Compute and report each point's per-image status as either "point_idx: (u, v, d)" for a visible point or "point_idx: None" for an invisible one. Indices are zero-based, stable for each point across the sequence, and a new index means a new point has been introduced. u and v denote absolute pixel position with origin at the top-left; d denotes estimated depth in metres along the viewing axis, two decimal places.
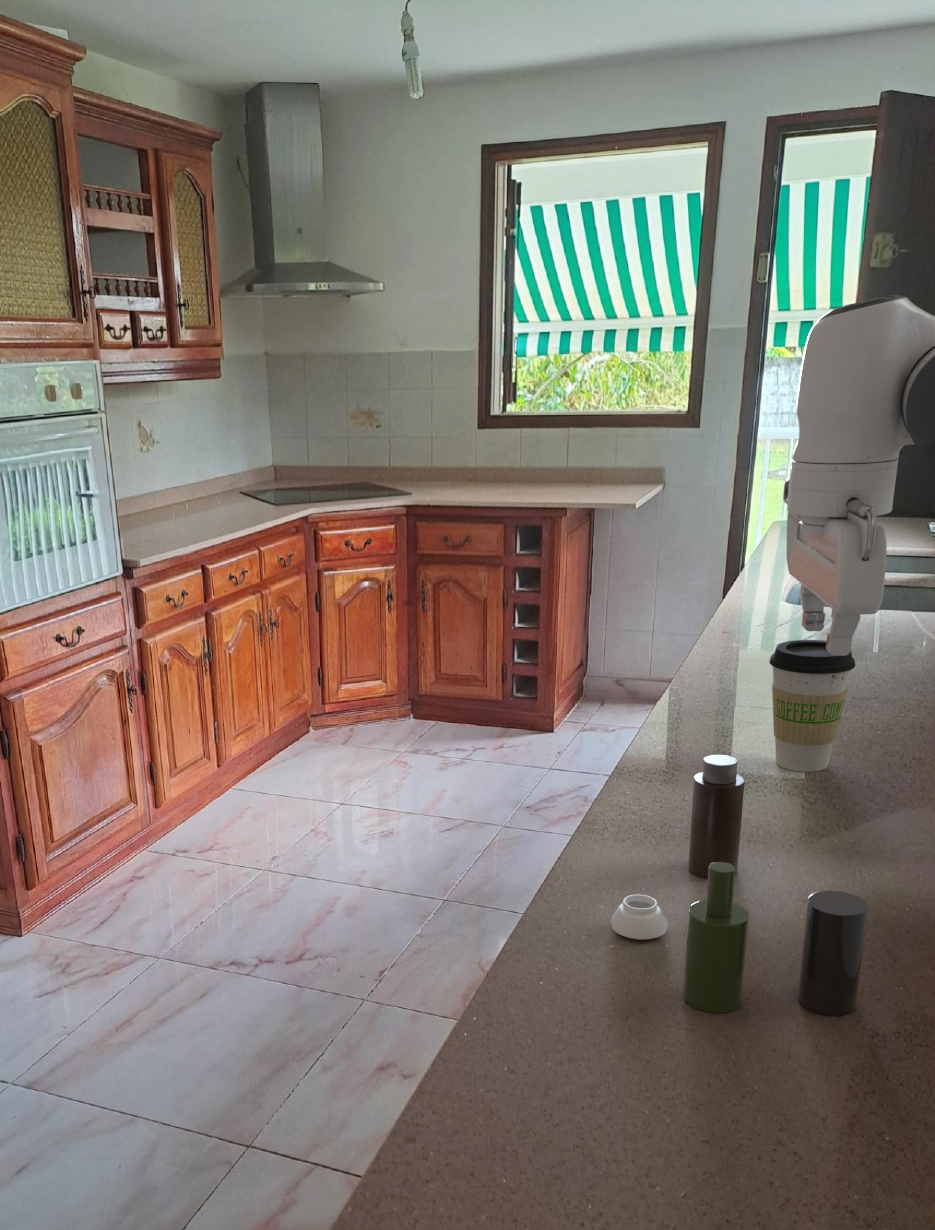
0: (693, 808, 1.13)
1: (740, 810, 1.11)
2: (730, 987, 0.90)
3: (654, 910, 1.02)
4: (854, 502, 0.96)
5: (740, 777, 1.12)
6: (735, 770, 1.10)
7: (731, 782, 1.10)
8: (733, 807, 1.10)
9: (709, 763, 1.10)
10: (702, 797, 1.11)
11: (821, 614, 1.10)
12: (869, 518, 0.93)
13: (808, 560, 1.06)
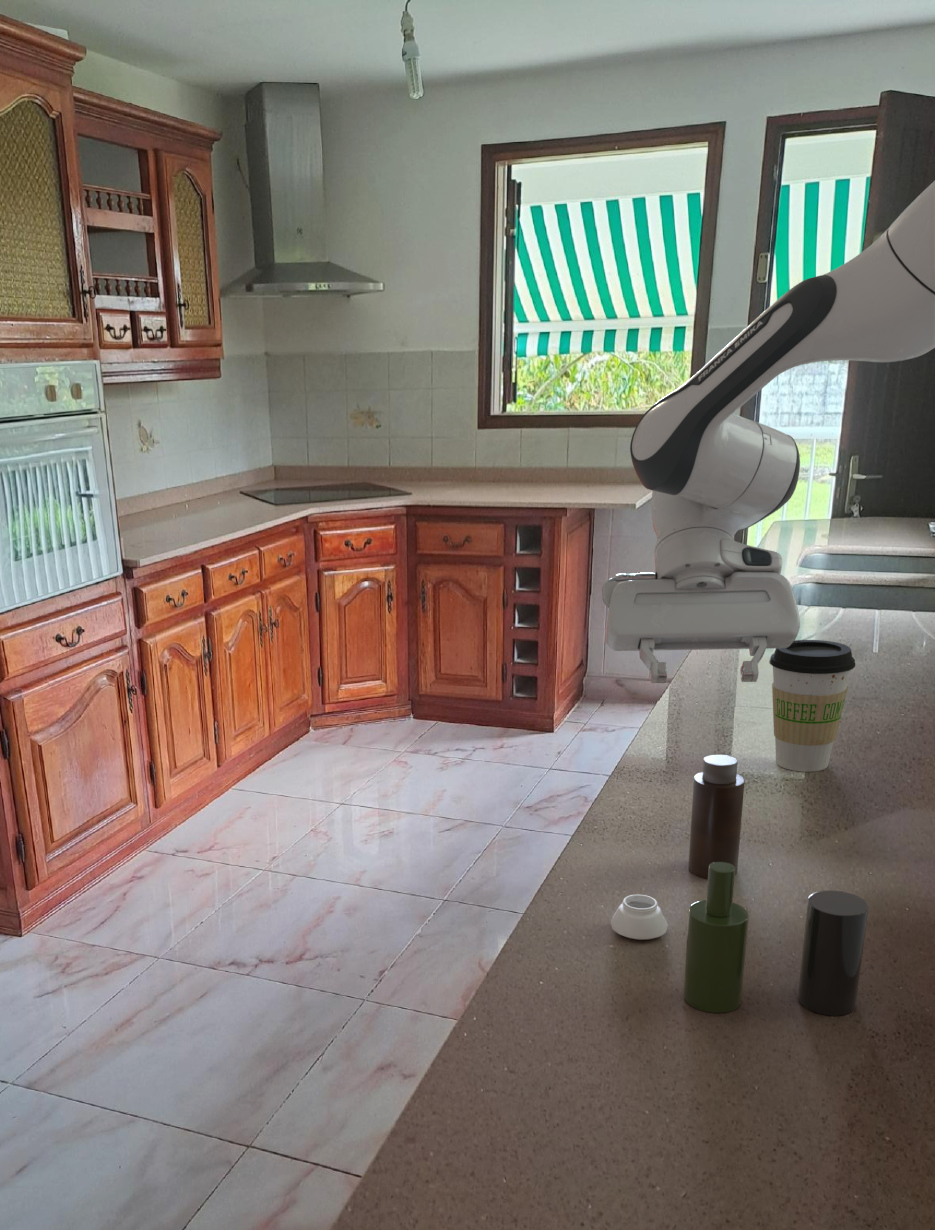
0: (693, 808, 1.13)
1: (740, 810, 1.11)
2: (730, 987, 0.90)
3: (654, 910, 1.02)
4: None
5: (740, 777, 1.12)
6: (735, 770, 1.10)
7: (731, 782, 1.10)
8: (733, 807, 1.10)
9: (709, 763, 1.10)
10: (702, 797, 1.11)
11: None
12: None
13: None
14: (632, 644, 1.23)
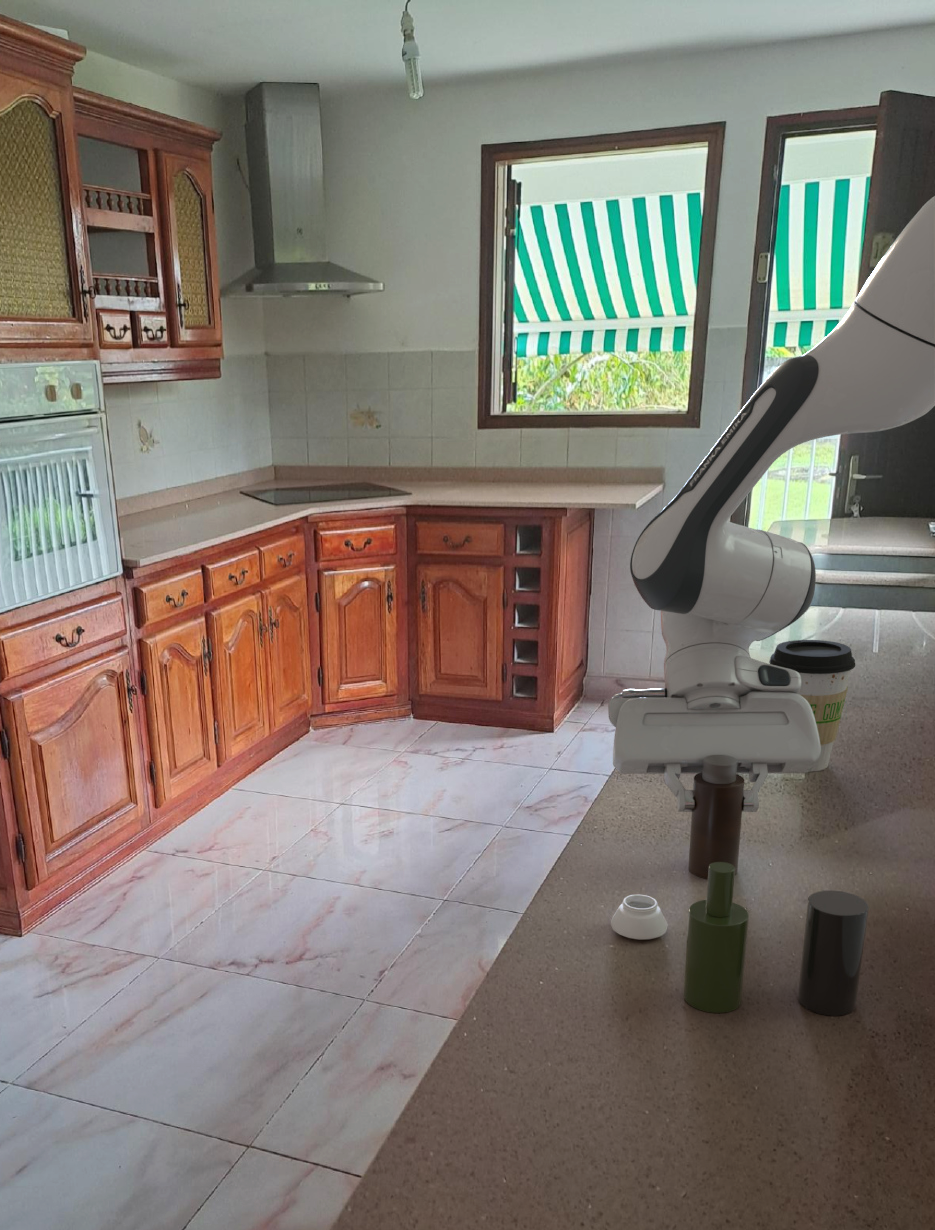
0: None
1: (740, 810, 1.11)
2: (730, 987, 0.90)
3: (654, 910, 1.02)
4: None
5: (740, 777, 1.12)
6: (735, 770, 1.10)
7: (731, 782, 1.10)
8: (733, 807, 1.10)
9: (709, 763, 1.10)
10: (702, 797, 1.11)
11: None
12: None
13: None
14: (640, 768, 1.15)
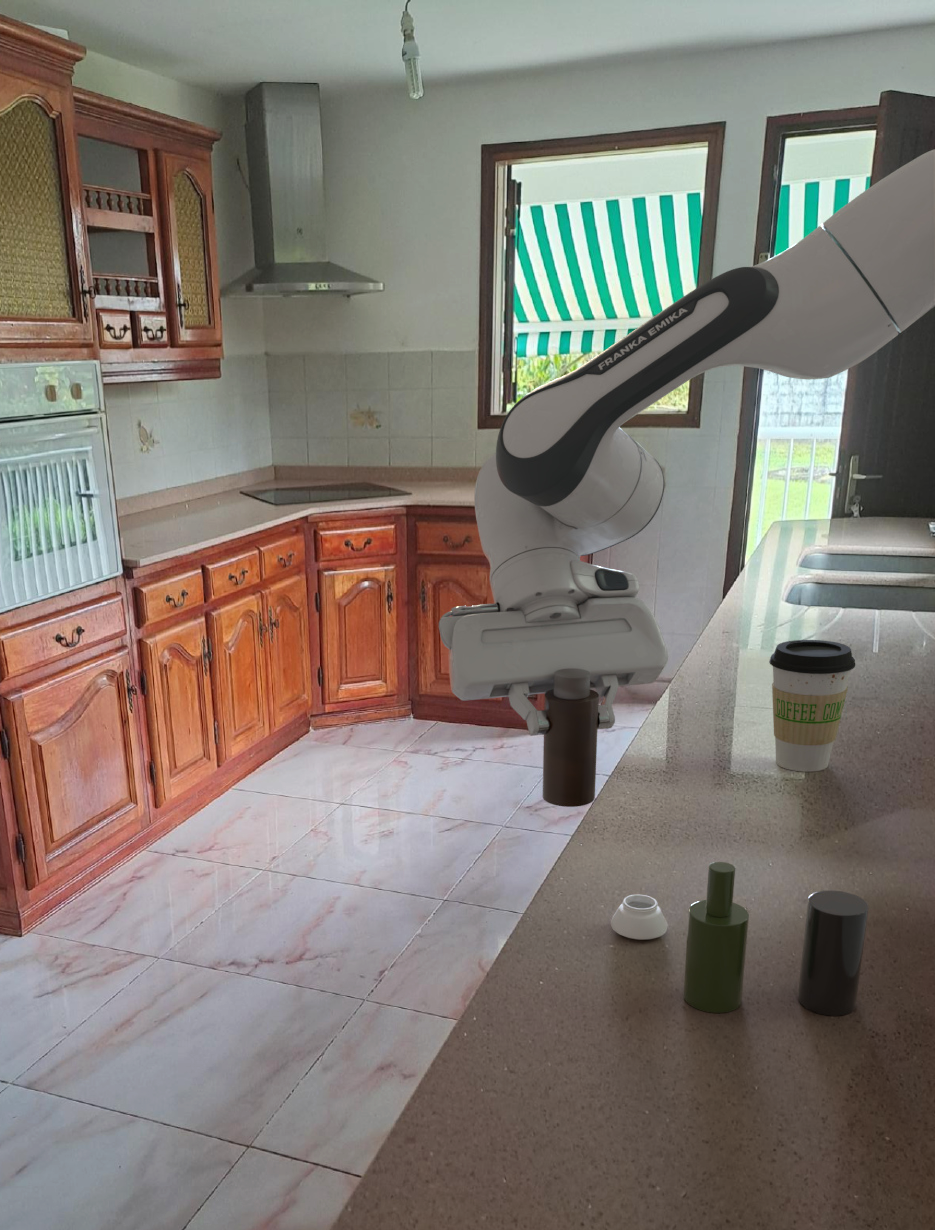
0: None
1: (596, 727, 1.01)
2: (730, 987, 0.90)
3: (654, 910, 1.02)
4: None
5: (592, 691, 1.01)
6: (589, 683, 1.00)
7: (586, 696, 1.00)
8: (591, 724, 1.00)
9: (562, 677, 0.99)
10: (558, 716, 1.00)
11: None
12: None
13: None
14: (484, 692, 1.02)
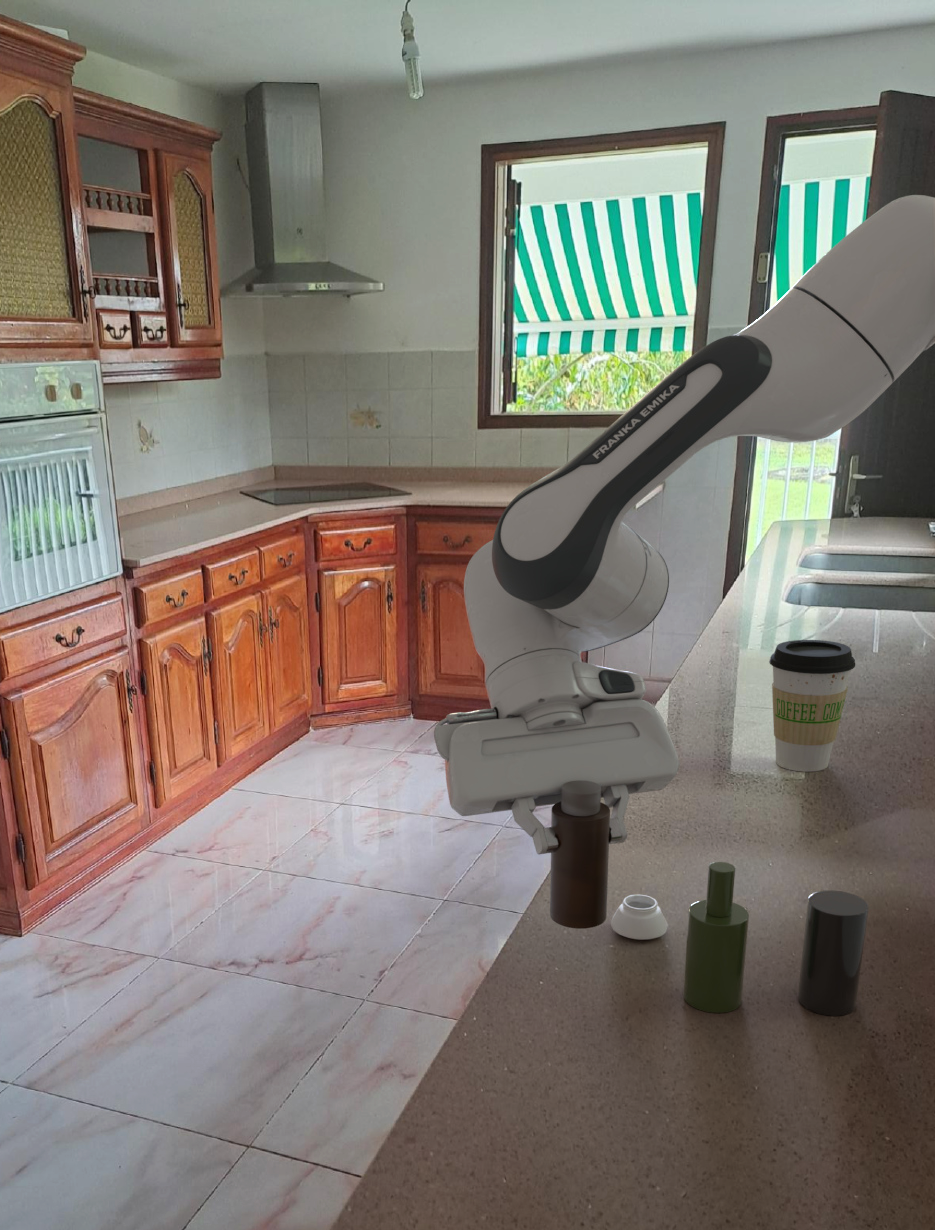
0: None
1: (608, 843, 0.94)
2: (730, 987, 0.90)
3: (654, 910, 1.02)
4: None
5: (602, 804, 0.94)
6: (600, 797, 0.93)
7: (597, 812, 0.93)
8: (603, 842, 0.93)
9: (571, 793, 0.92)
10: (567, 834, 0.92)
11: None
12: (436, 726, 0.98)
13: None
14: (487, 807, 0.95)
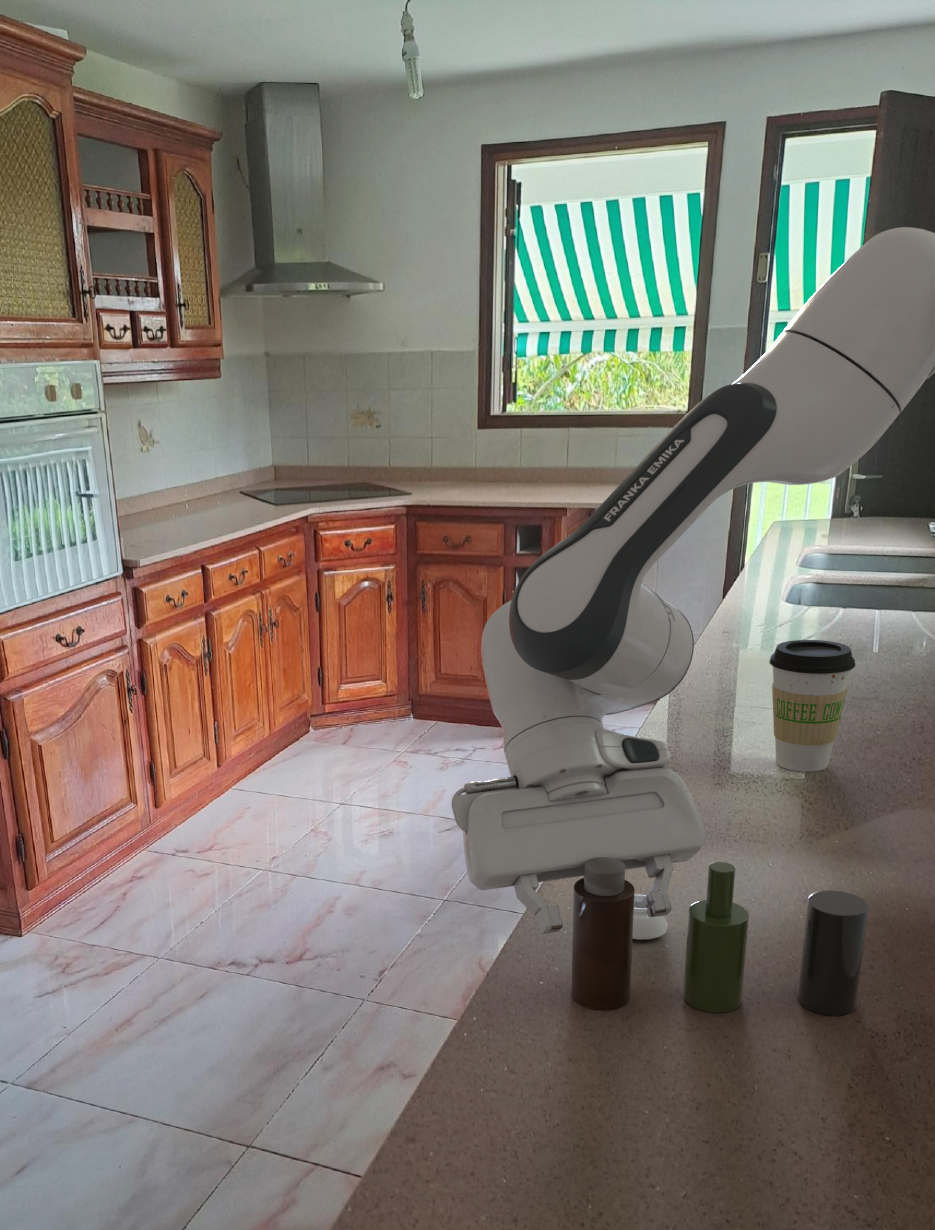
0: (577, 927, 0.91)
1: (632, 922, 0.91)
2: (730, 987, 0.90)
3: None
4: None
5: (626, 882, 0.91)
6: (624, 876, 0.90)
7: (621, 891, 0.90)
8: (627, 922, 0.90)
9: (595, 872, 0.89)
10: (591, 915, 0.89)
11: (649, 894, 0.92)
12: (454, 795, 0.94)
13: None
14: (507, 882, 0.92)
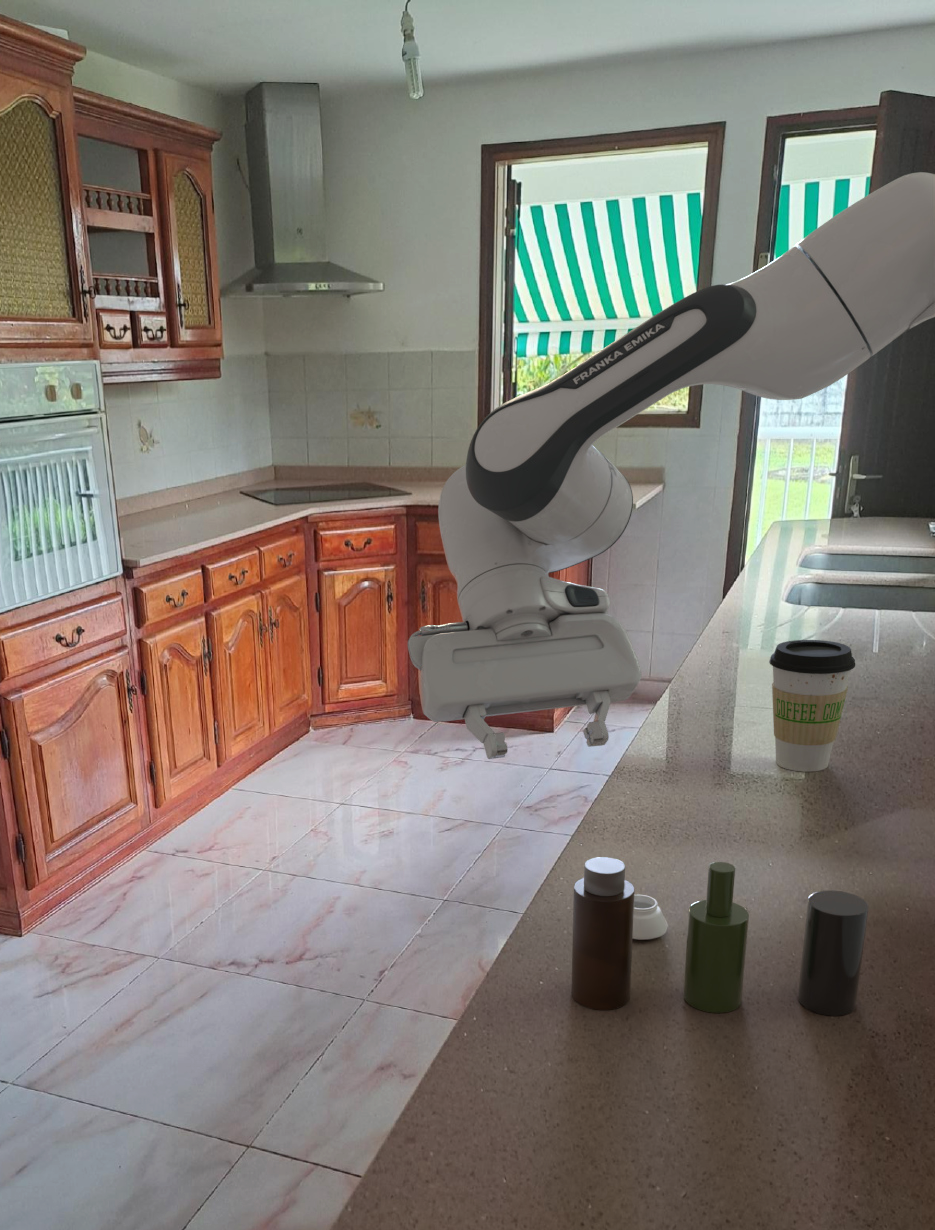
0: (577, 927, 0.91)
1: (632, 922, 0.91)
2: (730, 987, 0.90)
3: (654, 910, 1.02)
4: None
5: (626, 882, 0.91)
6: (624, 876, 0.90)
7: (621, 891, 0.90)
8: (627, 922, 0.90)
9: (595, 872, 0.89)
10: (591, 915, 0.89)
11: (588, 725, 1.00)
12: None
13: None
14: (457, 713, 1.00)
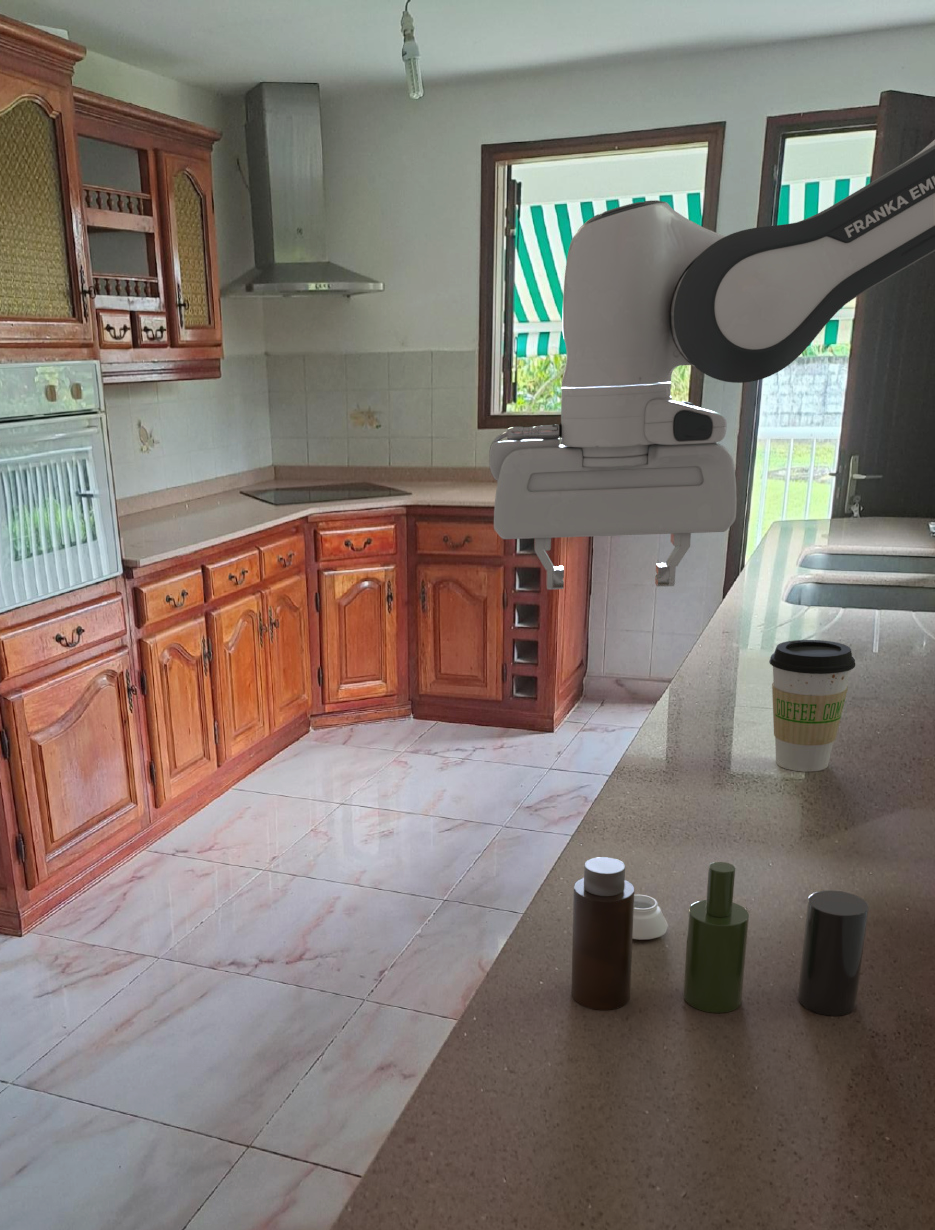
0: (577, 927, 0.91)
1: (632, 922, 0.91)
2: (730, 987, 0.90)
3: (654, 910, 1.02)
4: None
5: (626, 882, 0.91)
6: (624, 876, 0.90)
7: (621, 891, 0.90)
8: (627, 922, 0.90)
9: (595, 872, 0.89)
10: (591, 915, 0.89)
11: (657, 567, 0.97)
12: (495, 439, 0.95)
13: None
14: None
